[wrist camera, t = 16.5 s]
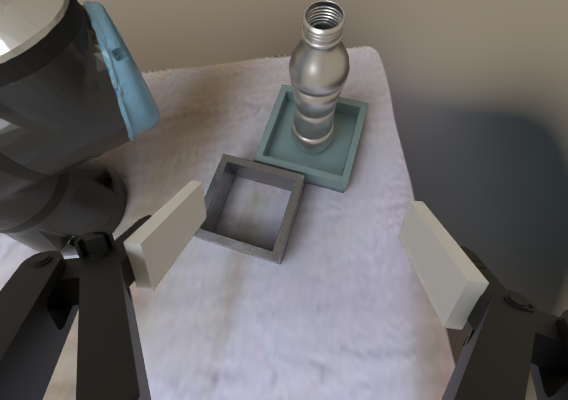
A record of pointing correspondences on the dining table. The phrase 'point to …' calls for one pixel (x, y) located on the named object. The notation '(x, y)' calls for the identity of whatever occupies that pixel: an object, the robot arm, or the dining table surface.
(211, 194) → the holder sleeve
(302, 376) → the dining table surface
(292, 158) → the tray
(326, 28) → the metal bottle
